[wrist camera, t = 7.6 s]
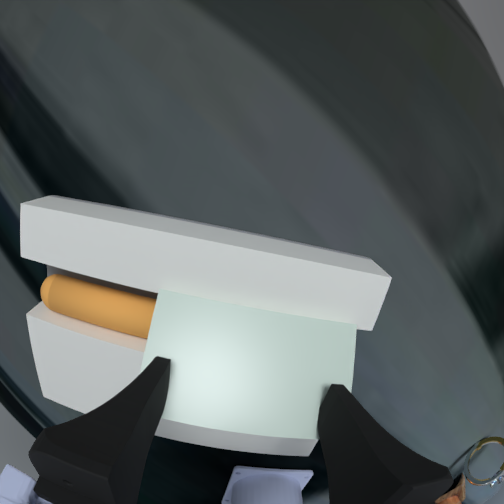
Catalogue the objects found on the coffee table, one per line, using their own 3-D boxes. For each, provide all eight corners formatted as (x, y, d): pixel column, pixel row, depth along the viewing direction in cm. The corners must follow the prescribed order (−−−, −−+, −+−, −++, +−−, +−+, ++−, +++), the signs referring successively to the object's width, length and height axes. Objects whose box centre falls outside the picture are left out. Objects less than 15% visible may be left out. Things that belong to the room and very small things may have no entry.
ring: (496, 423, 25) (523, 460, 18) (496, 432, 26) (520, 468, 18) (454, 453, 26) (477, 495, 19) (456, 461, 27) (477, 501, 19)
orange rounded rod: (216, 327, 16) (220, 305, 19) (31, 279, 16) (51, 264, 18) (209, 361, 17) (214, 337, 20) (36, 312, 16) (54, 296, 19)
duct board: (302, 424, 23) (308, 456, 19) (61, 372, 21) (43, 396, 18) (369, 257, 19) (391, 277, 15) (52, 195, 17) (20, 203, 14)
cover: (336, 437, 13) (344, 439, 12) (137, 409, 13) (133, 410, 12) (348, 328, 16) (356, 324, 15) (162, 294, 15) (159, 288, 14)
